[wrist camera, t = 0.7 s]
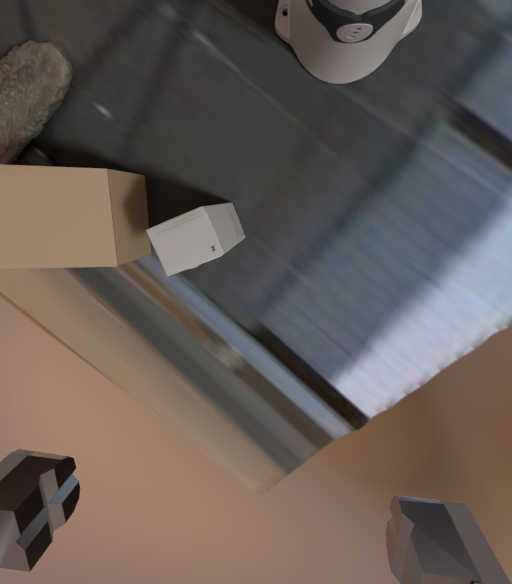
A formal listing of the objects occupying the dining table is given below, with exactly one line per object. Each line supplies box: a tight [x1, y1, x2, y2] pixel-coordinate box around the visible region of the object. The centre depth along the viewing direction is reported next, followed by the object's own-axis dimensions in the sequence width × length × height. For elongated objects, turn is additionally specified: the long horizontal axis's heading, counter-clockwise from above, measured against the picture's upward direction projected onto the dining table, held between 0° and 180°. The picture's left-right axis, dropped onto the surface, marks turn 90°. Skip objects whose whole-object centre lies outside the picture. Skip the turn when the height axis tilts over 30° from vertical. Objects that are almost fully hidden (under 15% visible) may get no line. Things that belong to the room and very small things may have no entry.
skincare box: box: [146, 203, 245, 276], centre depth 44 cm, size 8×7×16 cm
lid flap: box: [0, 164, 118, 269], centre depth 41 cm, size 13×20×1 cm, turn 89°
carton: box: [108, 169, 151, 265], centre depth 49 cm, size 13×20×10 cm, turn 89°
